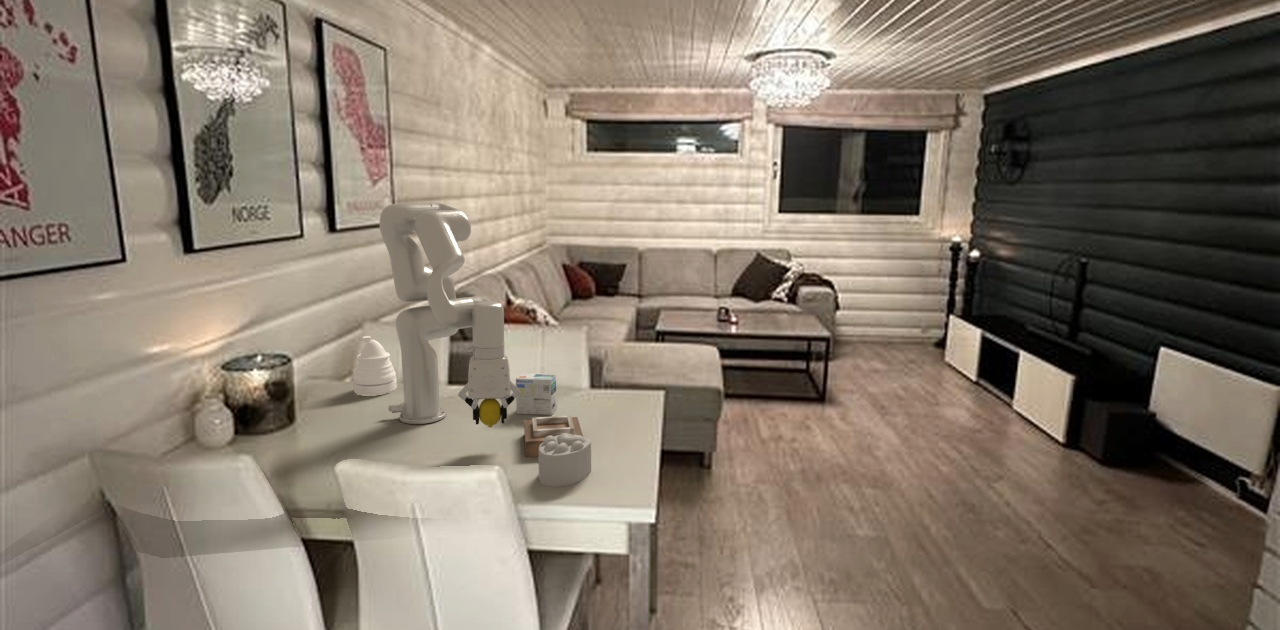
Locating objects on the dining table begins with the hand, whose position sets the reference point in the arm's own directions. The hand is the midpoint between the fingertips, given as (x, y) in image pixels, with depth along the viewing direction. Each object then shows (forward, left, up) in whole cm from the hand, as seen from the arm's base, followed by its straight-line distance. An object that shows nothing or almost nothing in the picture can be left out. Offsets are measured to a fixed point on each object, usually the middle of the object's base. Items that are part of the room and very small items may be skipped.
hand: (490, 421), depth 173 cm
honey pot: (-38, +56, -7) cm, 68 cm away
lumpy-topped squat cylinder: (+16, -21, -7) cm, 27 cm away
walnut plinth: (+15, -1, -7) cm, 17 cm away
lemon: (0, 0, -2) cm, 2 cm away
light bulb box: (+12, +26, -7) cm, 30 cm away
